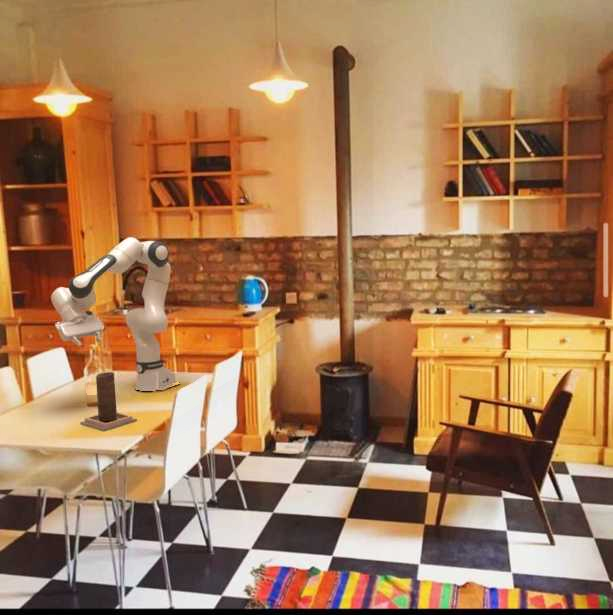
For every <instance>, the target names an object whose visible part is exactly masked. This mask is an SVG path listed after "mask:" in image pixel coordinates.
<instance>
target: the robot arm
mask: <svg viewBox="0 0 613 615" xmlns="http://www.w3.org/2000/svg"><path fill="white" fill-rule="evenodd" d="M169 257H170V251H169V248H168V246H167V244H165V243H164V242H162V241H158V240H157V241H155V240H147V241H140V240H138V239H137V238H135V237H131V236H129V237H126V238H125V239H124V240H122V241H120V243H118V244H117V245H116V246H115V247H114V248H113V249H111V251H109V253H107V254H105V255H103V256H101V258H99V259H98V260H97V261H95V262H94V263H92V264H91V265H90V266H89V267H88V268H87V269H85V270H84V271H83V272H80V273H78V274H76V275H74V276H73V277H71V279H70V280H69V282H68V284H67V286H68V287H63V286H60V287H57V288H56V289H54V291H53V292H52V293H51V296H50V298H51V299H50V300H51V303H52V305H53V307H54V308H55V310H56V312H57V313H58V314H59V315H60V317H61V320H62V321H58V322H56V323H55V325H54V327H55V328H56V330H57V332H58V335H59V336H60V339H61V340H62V341H63V342H68V341H71V342H72V343H74V344H76V346H78V347H82V346H83V342H82V341H81V340H79V339H82V338H87V337H92V336H95V337H96V338H95V341H96V343H100V342H102V338H101V337H100V336H101V334H102V333H103V332H104V330H105V325H104V324H103V322H102V321H101V320H100V319H99V318H98V316H95V315H96V313H95V312H94V311H92V310H86V309H89V308H91V307H93V306H94V305H95V303H96V299H97V298H96V293H95V289H94V287H95V286H94V285H95V283H96V281H98V280H99V279H100V278H101V277H103V276H104V275H105V274H106V273H107V272H111V273H112V274H117V275H121V274H123V273H125V272H127V270H129V268H130V267H131V266H132V265H133V264H134V263H135V262H136V263H139V264H143V265H147V274H146V278H145V280H144V284H143V288H142V292H141V297H142V299H143V301H144V307H143V308H140V307H139V308H132V309H131V310H129V311H127V313H126V315H125V323H126V325H127V327H128V328H129V330H130V332H131V334H132V336H133V340H134V343H135V344H134V345H135V350H136V351H135V352H136V361H135V363H136V364H135V366H136V367H135V368H136V382H135V383H136V384H135V387H134V390H135V389H136V390H140V391H139V392H141V391H153V390H164V389H166V388H168V387H170V386H173V383H176V376H175V372H174V371H172V370H171V369H169V368H167V366H165V364H167V363H168V360H167V359H166V358H163V359H162V358H161V348H160V347H161V346H160V342H159V341H158V339H157V338H156V336H155V334H158V333H159V334H160V333H163V332H165V330H166V329H167V328H168V325H169V320H168V316H167V315H166V312H165V311H166V310H165V302H166V301H165V300H166V295H167V291H168V287H169V283H170V280H171V279H170V278H171V265H170V263H169V259H170V258H169ZM136 390H135V391H136ZM164 391H165V390H164ZM153 392H154V391H153Z"/></svg>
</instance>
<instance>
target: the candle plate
mask: <svg viewBox="0 0 613 615" xmlns="http://www.w3.org/2000/svg"><path fill="white" fill-rule="evenodd" d="M137 421H138V418H134V417H133V415H130V414H125V413H122V412H118V411H117V419H115V420H110V421H100V420H99V419H98V414H94V415H91V416H87V417H85V418H84V420H83V421H80V425H82V426H85V427H89V428H91V427H92V429H95V430H98V431H102V432H106V431H110V430H113V429H115V428H119V427H123V426H125V425H129V424H132V423H134V422H137Z"/></svg>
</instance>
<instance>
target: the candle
mask: <svg viewBox="0 0 613 615" xmlns="http://www.w3.org/2000/svg"><path fill="white" fill-rule="evenodd" d="M115 382H116V381H115V373H114V371H111V372H109V371H108V372H100V373H99V372H98V374H97V375H96V376H95V383H96V398H97V399H96V400H97V415H98V419H99V420H100V421H110V420H115V419H117V412H118V410H117V400H116V398H117V397H116V385H115Z"/></svg>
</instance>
